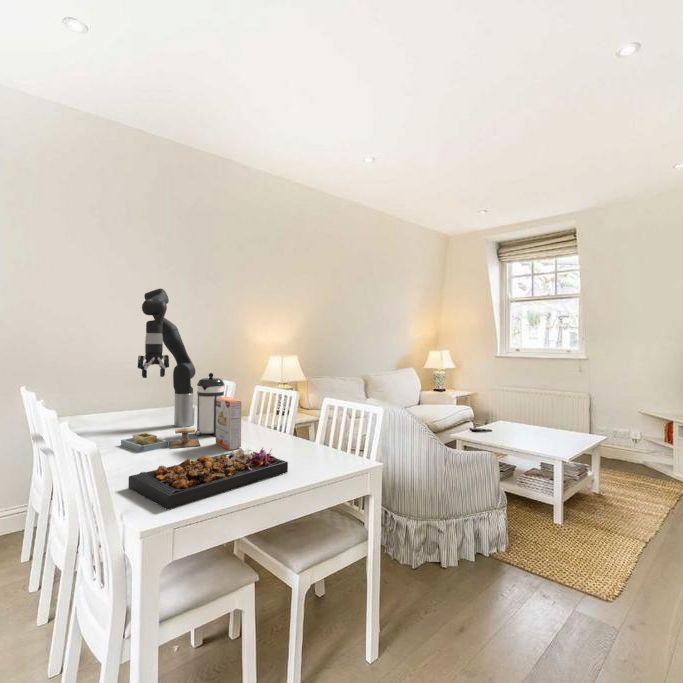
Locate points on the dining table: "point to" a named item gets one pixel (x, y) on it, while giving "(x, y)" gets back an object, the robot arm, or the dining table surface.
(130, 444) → the tray
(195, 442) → the brown piece
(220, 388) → the coffee press
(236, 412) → the cracker box
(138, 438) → the gold rectangular hollow block
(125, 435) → the dining table surface
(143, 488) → the food platter
